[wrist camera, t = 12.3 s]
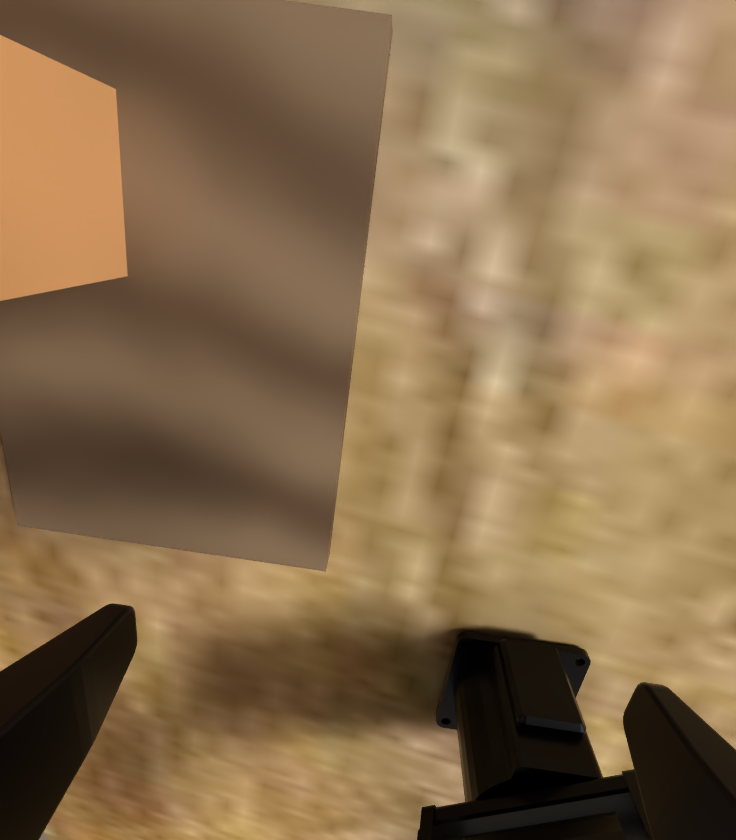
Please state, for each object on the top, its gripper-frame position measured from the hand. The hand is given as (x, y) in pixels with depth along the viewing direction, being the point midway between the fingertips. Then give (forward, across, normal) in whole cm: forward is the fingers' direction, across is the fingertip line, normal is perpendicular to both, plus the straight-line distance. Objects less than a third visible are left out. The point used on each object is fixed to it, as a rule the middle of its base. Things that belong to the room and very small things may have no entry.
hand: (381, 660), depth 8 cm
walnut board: (+12, +9, -3) cm, 15 cm away
